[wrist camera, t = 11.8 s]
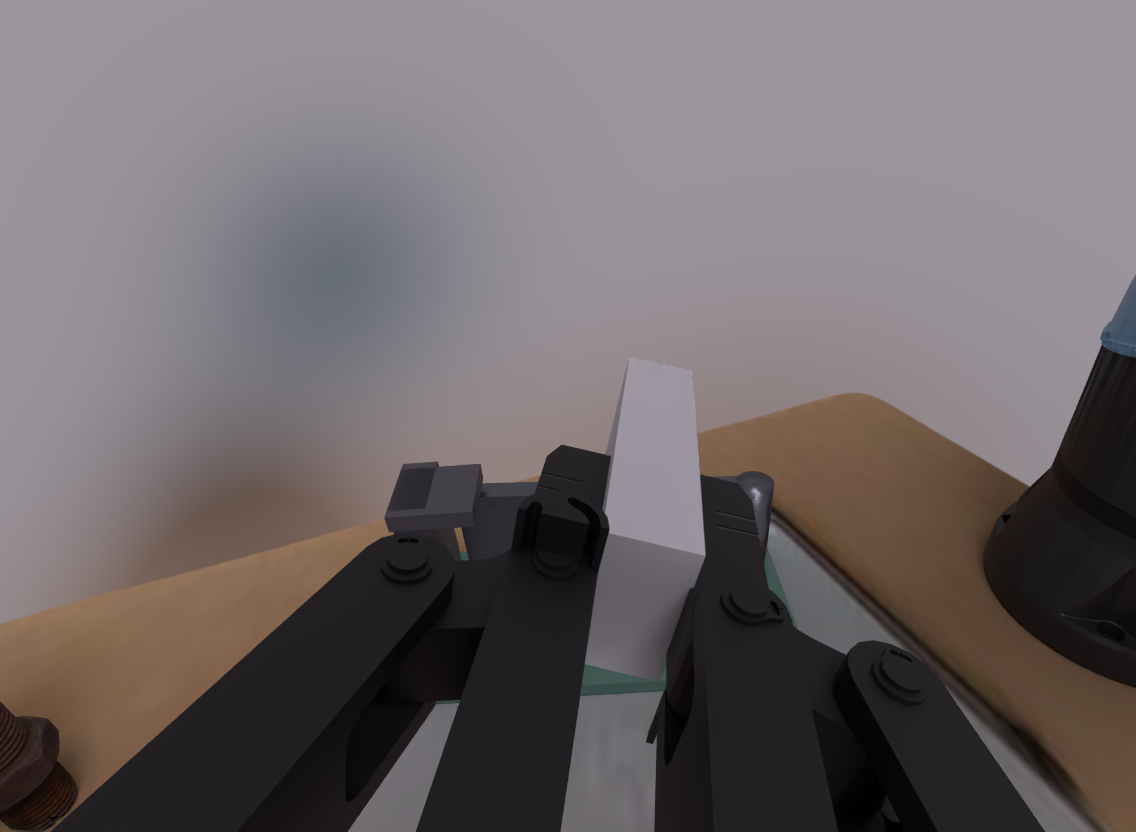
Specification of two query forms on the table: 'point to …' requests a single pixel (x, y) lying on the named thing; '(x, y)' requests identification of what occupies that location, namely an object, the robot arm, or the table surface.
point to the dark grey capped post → (435, 501)
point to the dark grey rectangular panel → (505, 498)
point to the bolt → (31, 773)
